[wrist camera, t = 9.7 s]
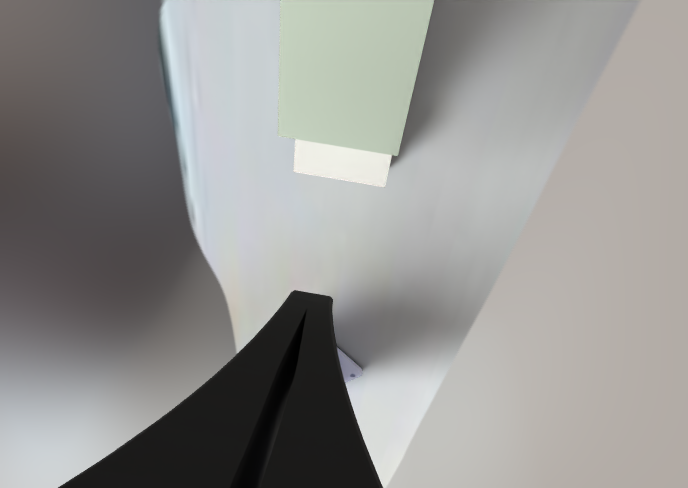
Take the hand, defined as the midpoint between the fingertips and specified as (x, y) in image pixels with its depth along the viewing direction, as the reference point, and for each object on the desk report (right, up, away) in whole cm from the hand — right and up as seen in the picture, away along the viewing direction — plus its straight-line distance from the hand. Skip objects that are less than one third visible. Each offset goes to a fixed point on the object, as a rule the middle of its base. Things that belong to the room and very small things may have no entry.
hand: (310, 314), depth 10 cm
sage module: (+2, +10, +3) cm, 11 cm away
